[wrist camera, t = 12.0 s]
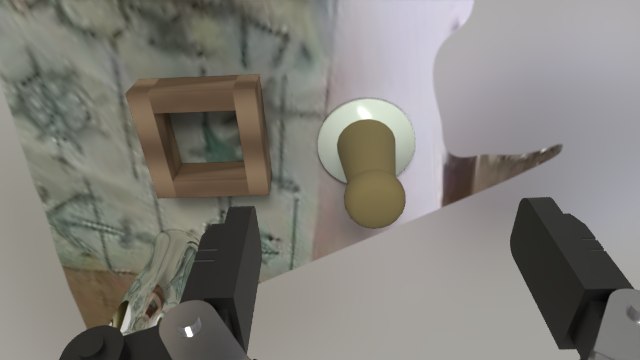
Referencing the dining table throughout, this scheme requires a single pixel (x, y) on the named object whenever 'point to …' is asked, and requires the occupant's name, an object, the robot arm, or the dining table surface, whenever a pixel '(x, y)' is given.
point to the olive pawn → (370, 173)
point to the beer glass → (157, 283)
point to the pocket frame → (200, 96)
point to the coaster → (361, 111)
